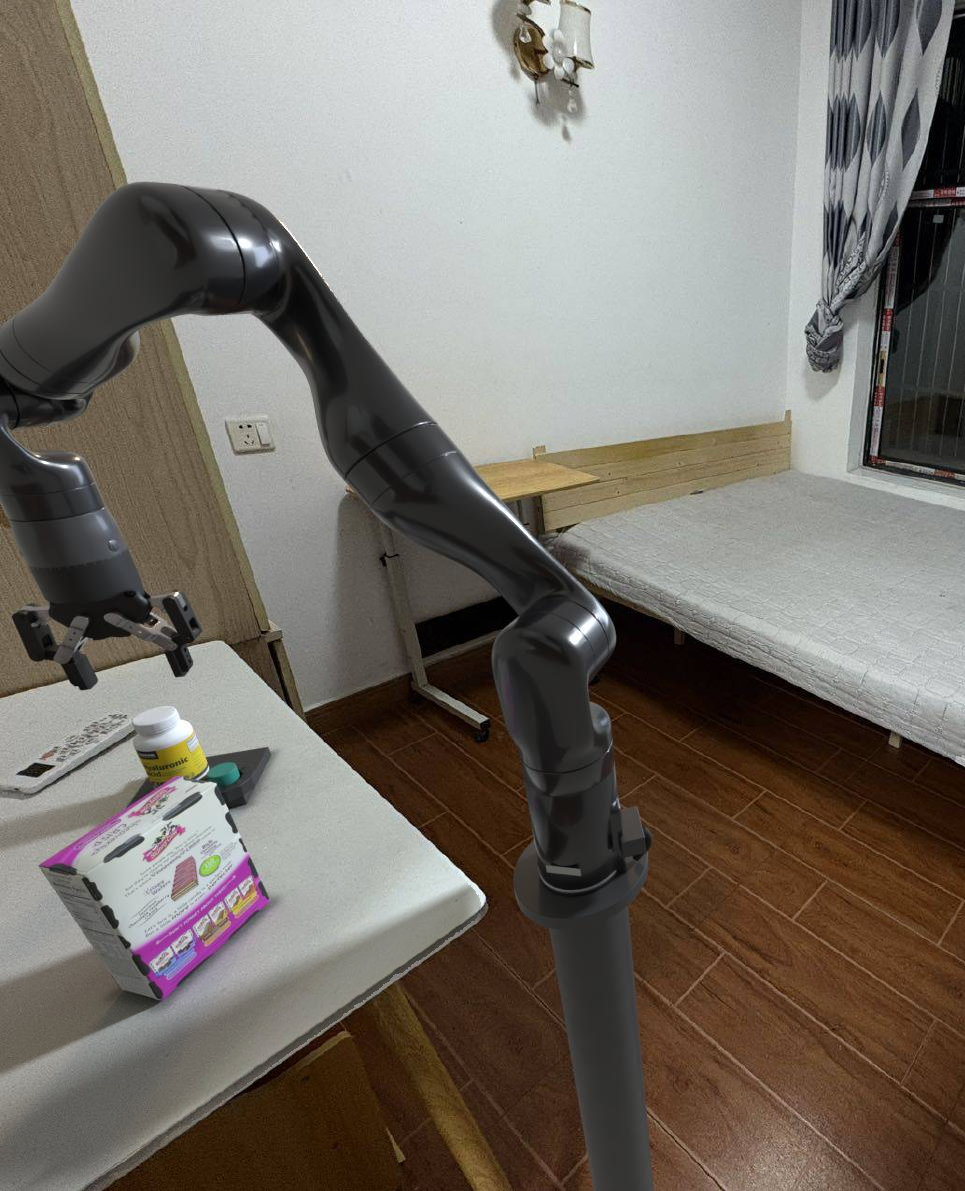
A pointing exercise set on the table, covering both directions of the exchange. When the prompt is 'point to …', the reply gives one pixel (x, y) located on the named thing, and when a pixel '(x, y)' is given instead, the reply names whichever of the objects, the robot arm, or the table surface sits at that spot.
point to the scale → (237, 792)
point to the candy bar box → (160, 885)
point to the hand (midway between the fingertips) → (137, 680)
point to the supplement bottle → (167, 746)
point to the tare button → (223, 774)
